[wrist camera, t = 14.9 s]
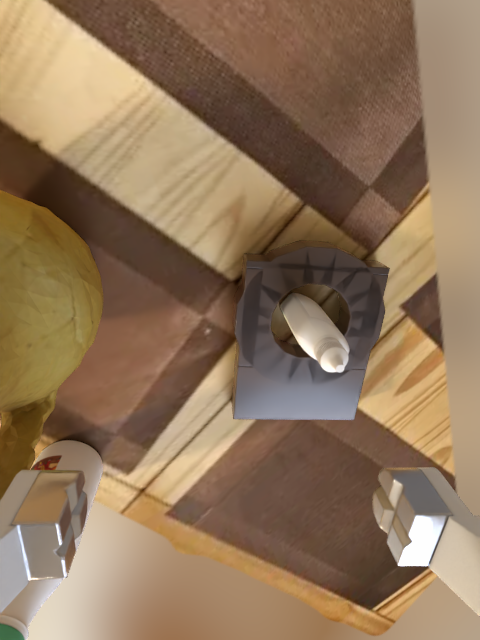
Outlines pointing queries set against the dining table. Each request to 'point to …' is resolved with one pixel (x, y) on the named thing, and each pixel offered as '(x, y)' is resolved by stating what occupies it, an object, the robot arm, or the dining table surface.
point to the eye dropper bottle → (316, 332)
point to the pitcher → (39, 322)
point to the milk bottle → (12, 623)
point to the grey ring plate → (291, 360)
